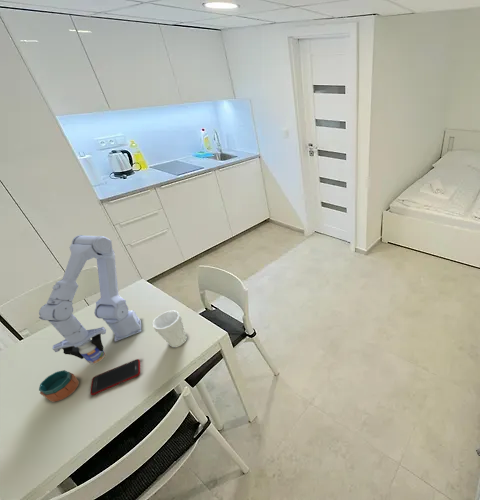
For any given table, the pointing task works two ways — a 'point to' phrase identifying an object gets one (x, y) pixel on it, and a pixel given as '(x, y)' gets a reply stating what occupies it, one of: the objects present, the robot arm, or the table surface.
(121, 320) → the robot arm
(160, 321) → the foam cup
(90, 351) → the pill bottle
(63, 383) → the orange and teal bowl
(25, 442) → the table surface
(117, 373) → the cell phone
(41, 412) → the table surface
